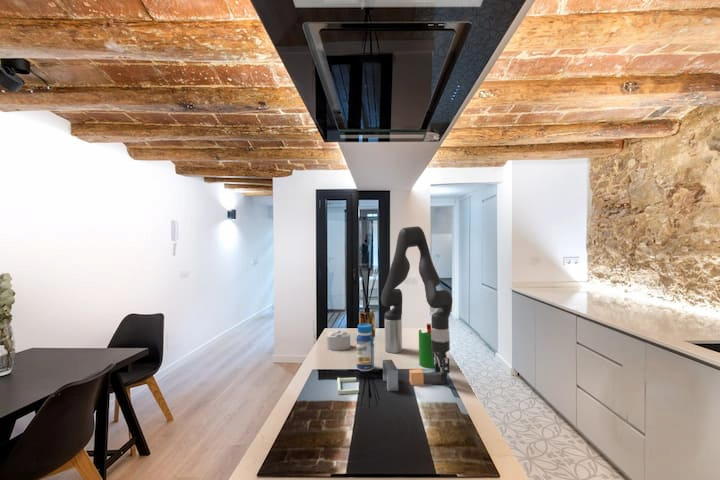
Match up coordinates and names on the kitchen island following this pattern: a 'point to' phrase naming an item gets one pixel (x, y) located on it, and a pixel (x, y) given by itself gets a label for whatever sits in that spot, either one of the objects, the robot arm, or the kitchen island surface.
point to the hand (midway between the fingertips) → (440, 378)
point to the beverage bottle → (365, 348)
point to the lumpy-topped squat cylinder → (338, 340)
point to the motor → (425, 348)
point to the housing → (390, 375)
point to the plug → (424, 377)
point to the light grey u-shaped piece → (348, 391)
